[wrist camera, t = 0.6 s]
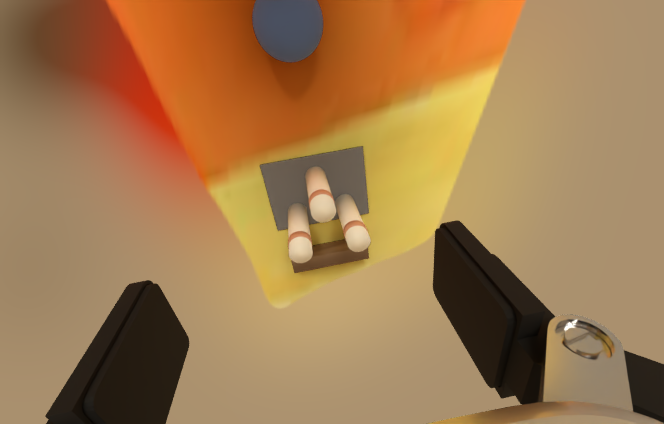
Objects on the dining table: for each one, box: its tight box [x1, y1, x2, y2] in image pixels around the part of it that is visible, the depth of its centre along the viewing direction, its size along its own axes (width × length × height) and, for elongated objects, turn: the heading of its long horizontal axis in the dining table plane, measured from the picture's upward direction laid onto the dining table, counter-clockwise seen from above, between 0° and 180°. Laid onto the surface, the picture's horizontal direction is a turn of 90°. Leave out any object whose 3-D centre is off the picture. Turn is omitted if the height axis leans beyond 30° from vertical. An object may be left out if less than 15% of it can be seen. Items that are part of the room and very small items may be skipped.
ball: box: [252, 0, 323, 62], centre depth 26 cm, size 6×6×6 cm
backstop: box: [291, 239, 369, 273], centre depth 41 cm, size 2×10×2 cm, turn 98°
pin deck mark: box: [260, 146, 369, 230], centre depth 38 cm, size 9×12×1 cm
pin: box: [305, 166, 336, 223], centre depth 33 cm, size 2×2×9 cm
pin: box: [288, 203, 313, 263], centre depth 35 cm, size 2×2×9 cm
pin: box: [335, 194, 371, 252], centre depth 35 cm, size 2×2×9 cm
